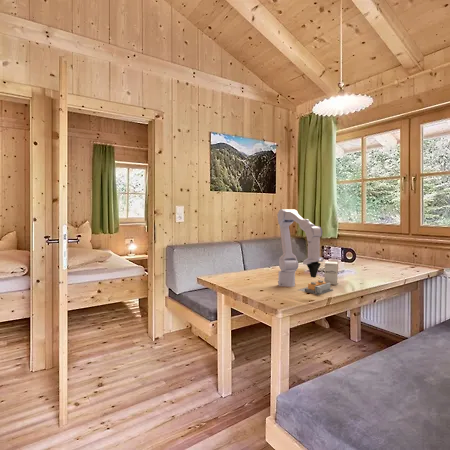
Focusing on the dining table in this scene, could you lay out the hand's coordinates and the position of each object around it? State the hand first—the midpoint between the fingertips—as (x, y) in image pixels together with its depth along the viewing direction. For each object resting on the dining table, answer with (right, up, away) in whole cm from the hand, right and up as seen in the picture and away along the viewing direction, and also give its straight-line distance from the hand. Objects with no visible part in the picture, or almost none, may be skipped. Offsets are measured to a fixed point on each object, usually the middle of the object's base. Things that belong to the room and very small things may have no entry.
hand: (313, 277), depth 157 cm
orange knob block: (+7, -9, +11) cm, 16 cm away
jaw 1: (+2, -9, +7) cm, 11 cm away
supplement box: (+19, -9, +29) cm, 35 cm away
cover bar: (+7, -9, +6) cm, 13 cm away
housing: (+4, -9, +10) cm, 14 cm away
